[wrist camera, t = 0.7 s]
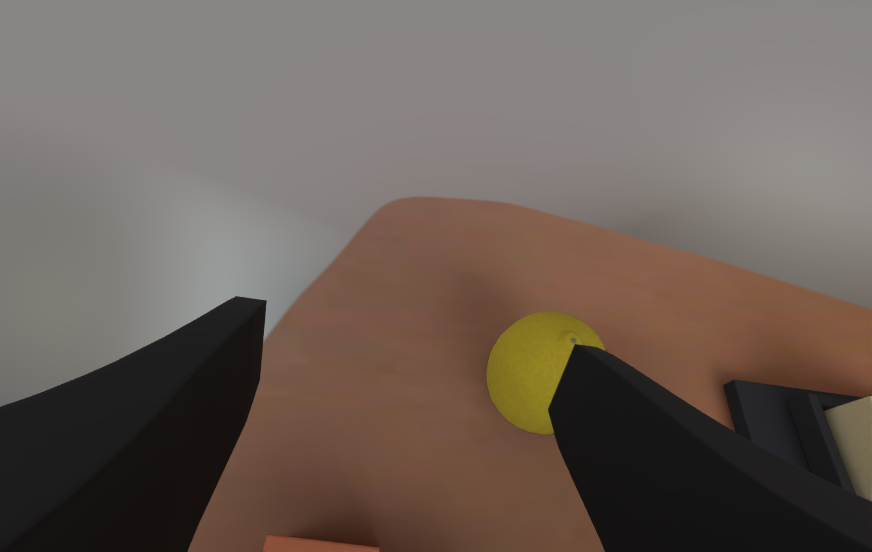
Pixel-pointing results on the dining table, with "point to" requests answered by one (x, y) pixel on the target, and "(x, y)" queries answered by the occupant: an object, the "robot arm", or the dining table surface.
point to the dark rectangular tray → (790, 425)
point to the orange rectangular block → (310, 545)
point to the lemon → (534, 366)
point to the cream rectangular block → (854, 441)
